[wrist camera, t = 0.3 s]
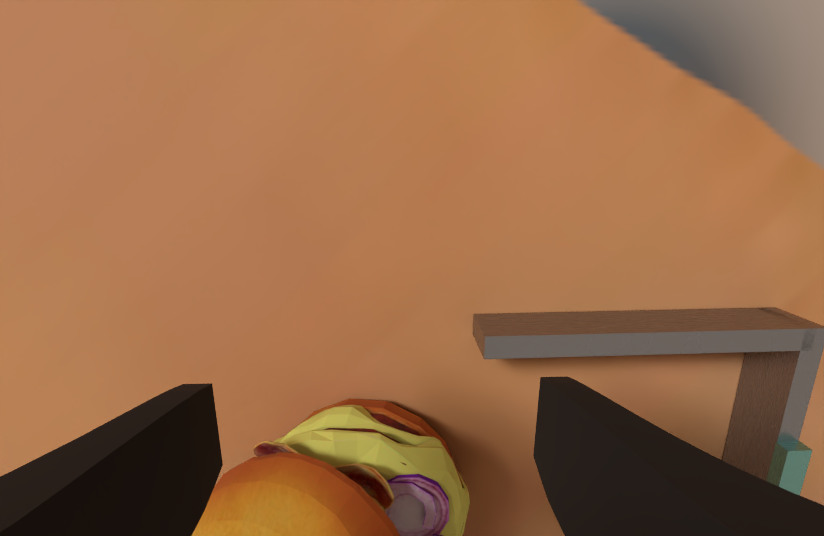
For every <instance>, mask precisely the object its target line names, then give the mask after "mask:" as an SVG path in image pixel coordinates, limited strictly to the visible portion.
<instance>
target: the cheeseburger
mask: <svg viewBox="0 0 824 536" xmlns="http://www.w3.org/2000/svg"><path fill="white" fill-rule="evenodd" d="M254 454H255V455H256V456H257V457H253V458H251V459H249V460H247V461H246V462H244V463H242V464H240V465H238V466H236V467H235V468H233V469H231V470H229V471H228V472H226V473H225V474H224V475H223V476H222V477H221V479H220V480H219V482H218V483H217V484H216V486H215V487H214V489H213V491H212V494H211V496H210V499H209V501H208V503H207V506H206V508H205V511H204V513H203V515H202V517H201V519H200V520H199V522H198V524H197V526H196V528H195V530H194V532H193V534H192V536H462V535H463V533H464V529H465V524H466V519H467V515H468V510H469V505H470V498H469V492H468V488H467V486H466V484H465V483H464V481H463V479H462V477H461V475H460V473H459V472H458V470H457V467H456V465H455V463H454V460H453V458H452V456H451V453H450V451H449V449H448V446H447V444H446V441H445V440H444V439H443V438H441V437H440V436H439V435H438V434H437V433H436V432H435V431H434V430H433V429H432V428H431V427H430V426H429V425H428V424H427V423H426V422H425V421H424V420H423V419H422V418H420V417H418V416H416V415H414V414H412V413H410V412H408V411H406V410H404V409H402V408H400V407H398V406H396V405H394V404H392V403H390V402H388V401H377V400H362V399H347V400H344V401H342V402H339V403H336V404H333V405H331V406H328V407H325V408H322V409H320V410H317V411H314V412H313V413H312V414H311V415H310V416H309V417H308V418H306V419H305V420H304V421H303V422H302V423H301V424H300V425H299V426H297V427H296V428H294V429H293V430H292V431H290V432H289V433H288V434H287V435H286V436H284V437H281V438H279V439H276V440H275V441H274V442H272V441H263V442H261V443H259V444H257V445H256V446H255V447H254Z"/></svg>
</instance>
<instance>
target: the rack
mask: <svg viewBox="0 0 824 536" xmlns="http://www.w3.org/2000/svg"><path fill="white" fill-rule="evenodd" d="M473 336H474V338H475V340H476V342H477V345H478V347H479V349H480V351H481V353H482V356H483V358H484V359H509V358H546V357H584V356H622V355H659V354H697V353H735V352H746V353H745V357H744V362H743V367H742V371H741V376H740V380H739V385H738V389H737V394H736V399H735V403H734V408H733V412H732V417H731V421H730V426H729V431H728V435H727V440H726V444H725V449H724V454H723V458H722V461H724V462H726V463H728V464H730V465H732V466H734V467H736V468H738V469H741V470H743V471H745V472H747V473H750V474H752V475H754V476H756V477H758V478H761V479H763V480H765V481H767V482H770V483H772V484H774V485H776V486H779V487H781V488H783V489H785V490H787V491H790V492H792V493H794V494H797V495H799V496H800V492H801V489H802V485H803V482H804V478H805V474H806V471H807V467H808V464H809V460H810V457H811V453H812V450H811V449H810V448H808V447H807V446H805V445H804V444H803V443H801V442H800V441H799V437H800V433H801V429H802V426H803V422H804V418H805V415H806V411H807V407H808V404H809V400H810V396H811V392H812V389H813V385H814V381H815V378H816V374H817V370H818V367H819V363H820V359H821V355H822V352H823V348H824V326H822V325H819V324H817V323H814V322H811V321H809V320H806V319H804V318H801V317H799V316H796V315H794V314H791V313H788V312H786V311H783V310H781V309H778V308H730V309H685V310H640V311H594V312H549V313H503V314H473Z"/></svg>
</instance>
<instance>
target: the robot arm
mask: <svg viewBox="0 0 824 536" xmlns="http://www.w3.org/2000/svg"><path fill="white" fill-rule="evenodd" d="M534 459H535V462H536V465H537V468H538V471H539V475H540V478H541V481H542V484H543V486H544V489H545V492H546V495H547V498H548V501H549V503H550V505H551V507H552V509H553V512H554V514H555V516H556V518H557V520H558V522H559V524H560V527H561V529H562V531H563V533H564V535H565V536H824V505H821V504H819V503H816V502H814V501H811V500H809V499H807V498H804V497H802V496H799V495H797V494H794V493H792V492H790V491H787V490H785V489H783V488H781V487H779V486H776V485H774V484H772V483H770V482H767V481H765V480H763V479H761V478H758V477H756V476H754V475H752V474H750V473H747V472H745V471H743V470H741V469H738V468H736V467H734V466H732V465H730V464H728V463H726V462H724V461H722V460H720V459H718V458H716V457H714V456H712V455H710V454H708V453H706V452H704V451H702V450H700V449H698V448H696V447H694V446H692V445H691V444H689V443H687V442H685V441H683V440H681V439H679V438H677V437H675V436H673V435H672V434H670V433H668V432H666V431H664V430H662V429H661V428H659V427H657V426H655V425H653V424H652V423H650V422H648V421H646V420H645V419H643V418H641V417H639V416H638V415H636V414H634V413H632V412H631V411H629V410H627V409H625V408H624V407H622V406H620V405H619V404H617V403H615V402H613V401H612V400H610V399H608V398H607V397H605V396H603V395H601V394H600V393H598V392H596V391H594V390H593V389H591V388H589V387H587V386H585V385H584V384H582V383H580V382H578V381H576V380H574V379H572V378H569V377H541V379H540V390H539V401H538V412H537V423H536V434H535V445H534ZM222 465H223V464H222V456H221V449H220V441H219V433H218V426H217V418H216V411H215V403H214V396H213V388H212V384H183V385H180V386H178V387H175V388H173V389H171V390H168V391H166V392H164V393H162V394H160V395H158V396H156V397H154V398H152V399H150V400H149V401H147V402H145V403H143V404H141V405H139V406H137V407H135V408H133V409H132V410H130V411H128V412H126V413H124V414H122V415H120V416H118V417H117V418H115V419H113V420H111V421H109V422H107V423H105V424H103V425H102V426H100V427H98V428H96V429H94V430H92V431H90V432H88V433H87V434H85V435H83V436H81V437H79V438H77V439H75V440H73V441H71V442H69V443H67V444H65V445H63V446H61V447H59V448H57V449H55V450H53V451H51V452H49V453H47V454H45V455H43V456H41V457H39V458H37V459H35V460H33V461H31V462H29V463H27V464H25V465H23V466H21V467H19V468H17V469H15V470H13V471H11V472H9V473H7V474H5V475H3V476H1V477H0V536H192V534H193V532H194V530H195V528H196V526H197V524H198V522H199V520H200V519H201V517H202V515H203V513H204V511H205V508H206V506H207V503H208V501H209V499H210V496H211V494H212V491H213V489H214V486H215V483H216V481H217V478H218V475H219V473H220V470H221V467H222Z"/></svg>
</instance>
